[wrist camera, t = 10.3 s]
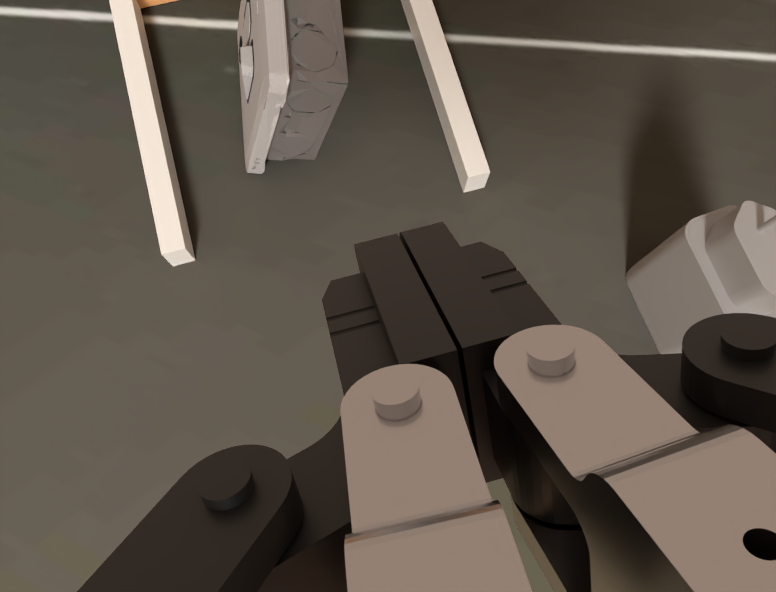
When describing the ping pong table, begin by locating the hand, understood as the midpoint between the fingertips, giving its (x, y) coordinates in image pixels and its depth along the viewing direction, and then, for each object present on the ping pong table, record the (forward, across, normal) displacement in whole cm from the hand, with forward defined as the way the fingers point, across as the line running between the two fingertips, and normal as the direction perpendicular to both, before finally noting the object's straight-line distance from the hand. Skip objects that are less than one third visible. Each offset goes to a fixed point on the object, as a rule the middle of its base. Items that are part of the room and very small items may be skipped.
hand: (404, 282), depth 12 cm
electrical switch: (+30, +1, +4) cm, 30 cm away
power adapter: (+18, -16, +16) cm, 29 cm away
